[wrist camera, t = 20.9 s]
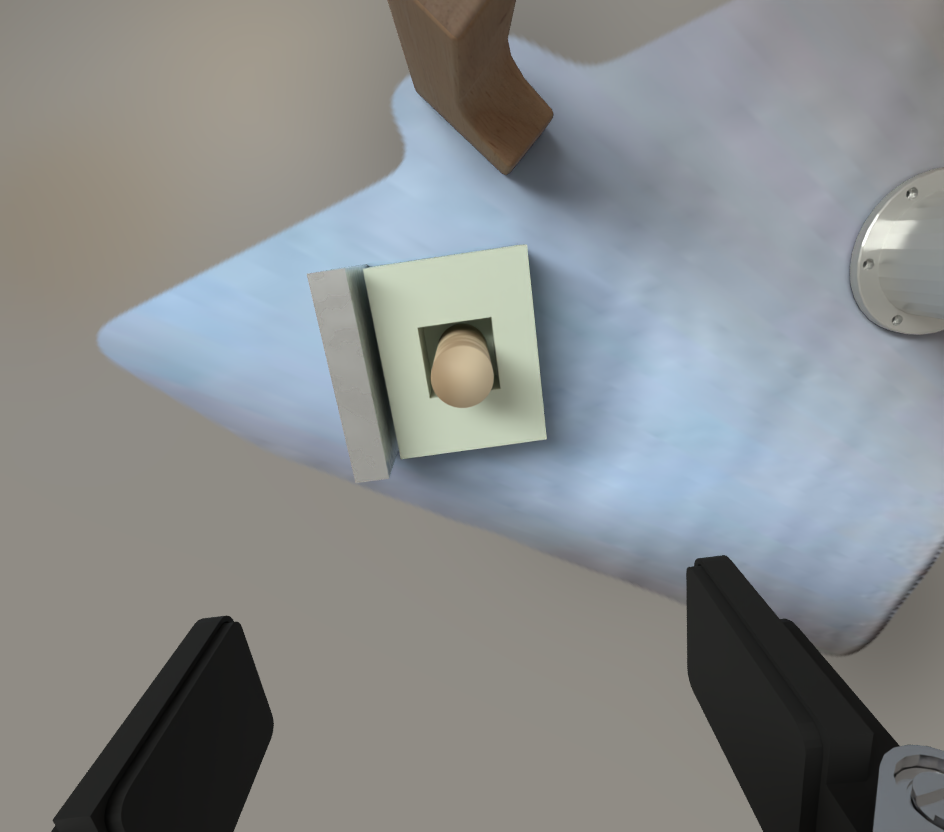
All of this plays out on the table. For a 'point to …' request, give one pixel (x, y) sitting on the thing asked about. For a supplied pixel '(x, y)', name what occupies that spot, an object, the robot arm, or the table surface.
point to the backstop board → (355, 370)
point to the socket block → (417, 336)
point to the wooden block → (472, 74)
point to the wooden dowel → (462, 367)
